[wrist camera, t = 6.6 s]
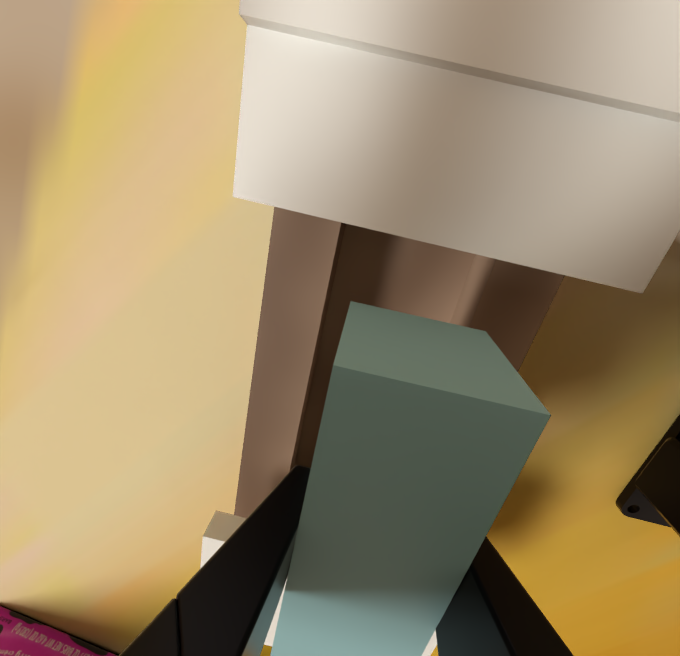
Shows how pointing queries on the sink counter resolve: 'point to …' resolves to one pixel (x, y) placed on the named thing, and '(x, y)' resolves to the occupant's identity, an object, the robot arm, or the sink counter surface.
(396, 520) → the teal rectangular block
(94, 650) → the candy bar box
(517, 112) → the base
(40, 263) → the sink counter surface
